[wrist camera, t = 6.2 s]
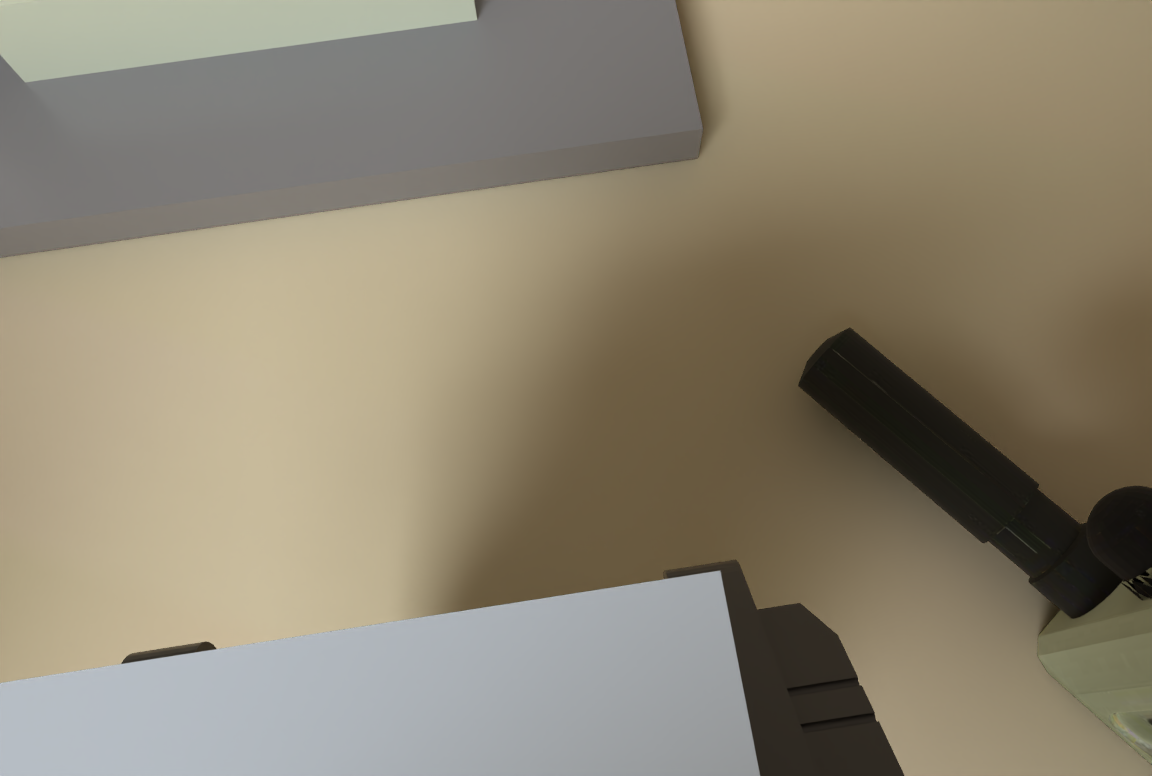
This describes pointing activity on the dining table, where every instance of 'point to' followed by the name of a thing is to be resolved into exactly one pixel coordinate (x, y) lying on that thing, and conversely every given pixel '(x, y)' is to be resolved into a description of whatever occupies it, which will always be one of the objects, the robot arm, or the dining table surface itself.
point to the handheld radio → (1017, 529)
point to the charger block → (417, 698)
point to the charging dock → (318, 106)
